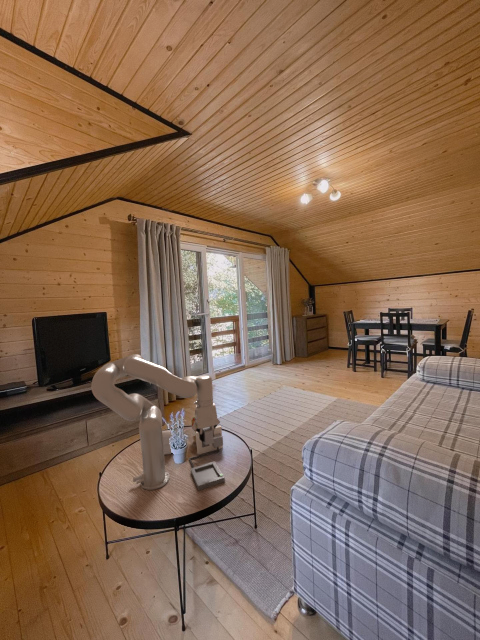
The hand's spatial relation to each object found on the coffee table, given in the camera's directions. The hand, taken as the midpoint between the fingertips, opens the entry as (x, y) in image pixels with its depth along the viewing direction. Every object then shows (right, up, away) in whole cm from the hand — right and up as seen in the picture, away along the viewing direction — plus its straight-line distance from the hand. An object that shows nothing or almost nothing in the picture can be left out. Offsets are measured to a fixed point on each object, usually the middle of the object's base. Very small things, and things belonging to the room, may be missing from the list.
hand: (206, 439), depth 129 cm
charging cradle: (+1, -15, -5) cm, 16 cm away
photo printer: (-24, -16, +18) cm, 34 cm away
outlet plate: (+1, -14, +16) cm, 21 cm away
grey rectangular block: (0, -1, 0) cm, 1 cm away
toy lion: (-6, -14, +27) cm, 31 cm away
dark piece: (-1, -15, +8) cm, 17 cm away
